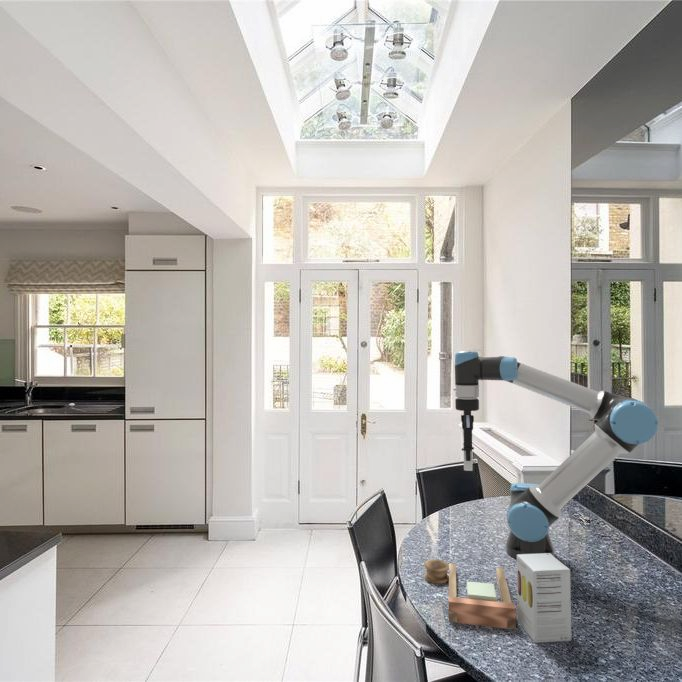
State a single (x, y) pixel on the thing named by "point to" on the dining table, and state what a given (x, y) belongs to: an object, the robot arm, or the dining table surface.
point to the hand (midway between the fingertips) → (468, 470)
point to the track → (482, 605)
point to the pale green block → (481, 591)
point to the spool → (436, 571)
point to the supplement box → (543, 597)
